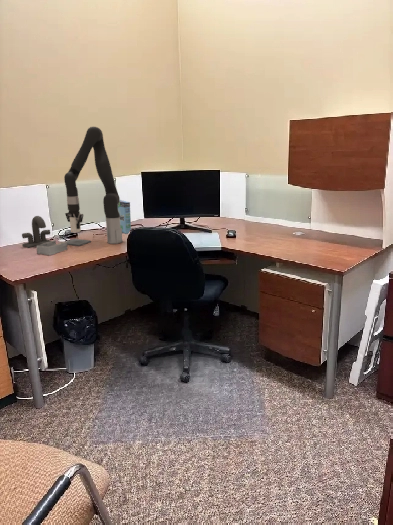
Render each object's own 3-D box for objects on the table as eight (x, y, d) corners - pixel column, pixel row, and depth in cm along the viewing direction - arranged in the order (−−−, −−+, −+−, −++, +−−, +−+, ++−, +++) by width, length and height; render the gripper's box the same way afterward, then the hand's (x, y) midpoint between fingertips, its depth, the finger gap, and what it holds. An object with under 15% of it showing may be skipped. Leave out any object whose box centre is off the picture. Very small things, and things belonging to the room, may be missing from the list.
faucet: (33, 250, 264) (29, 219, 258) (21, 246, 274) (17, 216, 268) (59, 244, 276) (55, 215, 270) (47, 241, 287) (43, 212, 281)
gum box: (113, 229, 319) (110, 199, 312) (118, 228, 322) (116, 199, 316) (125, 233, 305) (123, 202, 298) (131, 232, 308) (130, 202, 301)
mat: (91, 242, 283) (90, 240, 282) (79, 246, 272) (79, 244, 272) (75, 240, 289) (74, 238, 288) (62, 244, 278) (62, 242, 278)
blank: (75, 232, 275) (74, 217, 272) (71, 232, 277) (69, 217, 274) (80, 231, 280) (79, 216, 277) (76, 230, 281) (74, 216, 278)
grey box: (67, 249, 265) (66, 241, 264) (49, 255, 252) (48, 247, 251) (55, 247, 270) (54, 240, 268) (37, 253, 257) (36, 245, 255)
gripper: (60, 203, 272) (63, 228, 277) (77, 204, 266) (80, 230, 271) (68, 201, 279) (71, 226, 284) (85, 202, 273) (87, 228, 278)
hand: (75, 228), depth 277 cm, fingers closed on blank, 4 cm apart
